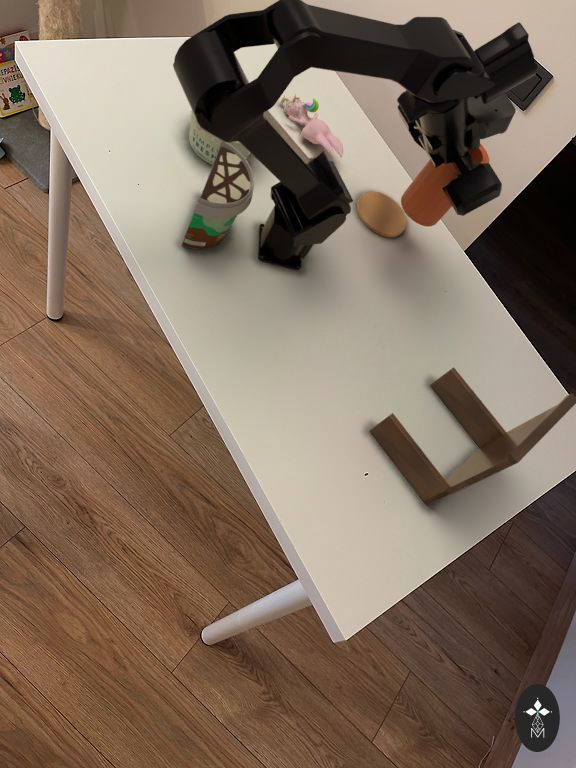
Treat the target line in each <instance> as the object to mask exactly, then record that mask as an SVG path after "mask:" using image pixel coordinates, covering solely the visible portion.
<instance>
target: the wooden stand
mask: <svg viewBox="0 0 576 768" xmlns="http://www.w3.org/2000/svg"><path fill="white" fill-rule="evenodd" d="M429 386H430V388H432V390H433V391H434V392H435V393H436V395H437V396H438V397H439V398H440V400H441V401H442V402H443V404H444V405H445V406H446V407H447V408H448V410H449V411H450V413H452V415H453V416H454V417H455V419H456V420H457V421H458V422H459V423H460V425H461V427H463V429H464V430H465V431H466V432H467V434H468V435H469V436H470V437H471V439H473V441H474V442H475V444H476V445H477V446H478V447H479V448H478V449H477V450H476V451H475V452H474V453H473V454H472V455H470V456H469V457H468V458H467V460H465V461H464V462H463V463H461V465H459V466H458V468H456V469H455V470H454V471H453V472H452V473H451V474H450V475H449V476H447V477H446V478H444V477H443V475H442V474H441V473H440V472H439V471H438V469H437V468H436V467H435V465H434V464H433V462H431V460H430V458H429V457H428V456H427V454H425V452H424V451H423V450H422V448H421V447H420V446H419V445H418V443H417V442H416V441H415V439H414V438H413V437H412V436H411V434H410V433H409V432H408V430H407V429H406V428H405V426H403V424H402V423H401V422H400V420H399V419H398V418H397V416H396V415H395V414H394V413H393V412H391V414H389V415H388V416H387V417H386V418H384V419H383V420H381V421H380V422H378V423H377V424H376V425H374V426H373V427H372V428H371V429H369V432H370V434H371V435H372V437H374V439H375V440H376V441H377V443H378V444H379V445H380V447H381V448H382V449H383V450H384V452H385V453H386V455H388V457H389V458H390V460H391V461H392V463H394V465H395V466H396V468H397V469H398V470H399V471H400V472H401V474H402V476H403V477H404V478H405V479H406V480H407V482H408V483H409V484H410V486H411V487H412V488H413V490H414V491H415V493H417V495H418V497H420V499H421V500H422V501H423V502H424V504H425V505H426V506H429V505H432V504H434V503H436V502H438V501H440V500H442V499H445V498H447V497H449V496H451V495H453V494H455V493H458V492H459V491H461V490H464V489H466V488H468V487H470V486H472V485H474V484H476V483H478V482H481V481H483V480H485V479H487V478H489V477H491V476H493V475H495V474H497V473H500V472H501V471H504V470H506V469H509V468H510V467H513V466H515V465H516V464H519V463H520V462H521V461H522V460H523V458H525V456H527V454H528V453H530V451H531V450H533V448H534V447H535V446H536V445H537V444H538V443H539V442H540V441H541V440H542V439H543V438H544V437H545V436H546V435H547V434H548V433H549V432H550V431H551V430H552V429H553V428H554V427H555V426H556V425H557V424H558V423H559V422H560V421H561V420H562V419H563V418H564V416H565V415H566V414H567V413H568V412H569V411H570V410H572V408H573V407H574V406H575V405H576V396H575V395H574V394H573V393H569V394H567V395H566V396H565V397H564V398H563V399H562V400H561V401H560V402H558V404H556V405H554V406H552V407H551V408H549V409H547V410H545V411H543V412H541V413H539V414H537V415H536V416H534V417H532V418H530V419H529V420H526V421H524V422H523V423H521V424H519V425H517V426H515V427H514V428H512V429H510V430H508V431H506V429H504V428H503V426H502V425H501V423H500V422H499V421H498V420H497V419H496V417H495V416H494V415H493V414H492V413H491V411H490V410H489V409H488V407H487V406H486V405H485V404H484V402H482V400H481V399H480V397H479V396H478V395H477V394H476V393H475V391H474V390H473V389H472V388H471V386H470V385H469V384H468V383H467V381H466V380H465V379H464V378H463V377H462V375H461V374H460V373H459V372H458V370H457V369H456V368H455V367H452V368H451V369H449V370H448V371H446V372H445V373H444V374H442V375H441V376H439V377H438V378H437V379H436V380H435V381H433V382H432V383H431V384H430V385H429Z"/></svg>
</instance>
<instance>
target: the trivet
mask: <svg viewBox="0 0 576 768" xmlns="http://www.w3.org/2000/svg"><path fill="white" fill-rule="evenodd" d="M356 211H357V214H358V217H359V218H360V220H361V221H362V223H363V224H364V225H365V226H366V227H367V228H368V229H369V230H371V231H372V232H373V233H375V234H377V235H379V236H381V237H385V238H395V237H398V236H400V235H402V234H403V232H404V231H405V230H406V227H407V218H406V213H405V211H404V210H403V208H402V206H400V205H399V204H398V202H396V201H395V200H394V199H393V198H391V197H390V196H388V195H387V194H384V193H382V192H379V191H367V192H364V193H363V194H361V195H360V197H359V199H357V203H356Z"/></svg>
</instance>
